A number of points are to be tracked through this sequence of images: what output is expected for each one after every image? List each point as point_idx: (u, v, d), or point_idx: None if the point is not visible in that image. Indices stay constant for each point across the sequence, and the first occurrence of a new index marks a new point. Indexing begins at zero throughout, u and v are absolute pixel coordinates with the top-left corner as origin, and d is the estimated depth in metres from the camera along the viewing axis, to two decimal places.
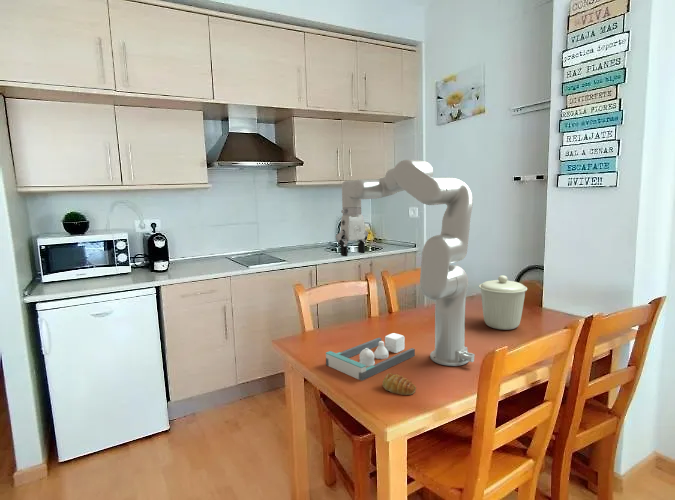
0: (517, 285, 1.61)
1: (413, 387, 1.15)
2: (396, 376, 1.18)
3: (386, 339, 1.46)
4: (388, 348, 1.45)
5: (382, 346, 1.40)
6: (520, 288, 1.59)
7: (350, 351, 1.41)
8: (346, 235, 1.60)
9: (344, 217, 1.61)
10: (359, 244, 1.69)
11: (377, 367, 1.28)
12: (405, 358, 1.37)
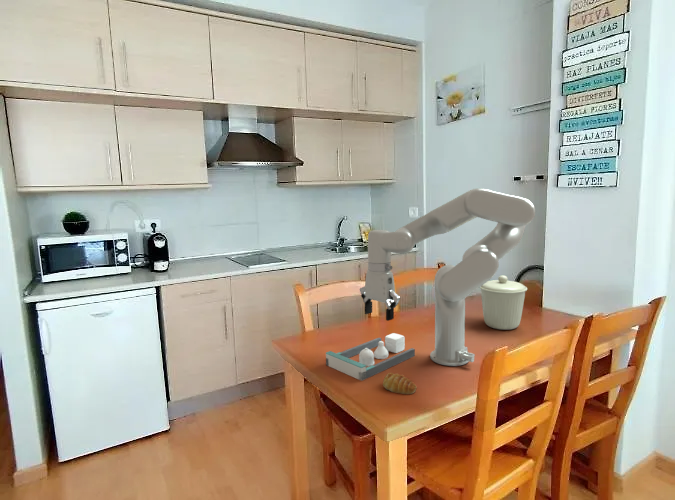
0: (517, 285, 1.61)
1: (413, 386, 1.16)
2: (396, 375, 1.19)
3: (386, 339, 1.45)
4: (388, 348, 1.45)
5: (382, 346, 1.40)
6: (520, 288, 1.59)
7: (350, 351, 1.41)
8: None
9: (390, 274, 1.34)
10: (367, 304, 1.42)
11: (377, 367, 1.28)
12: (405, 358, 1.37)
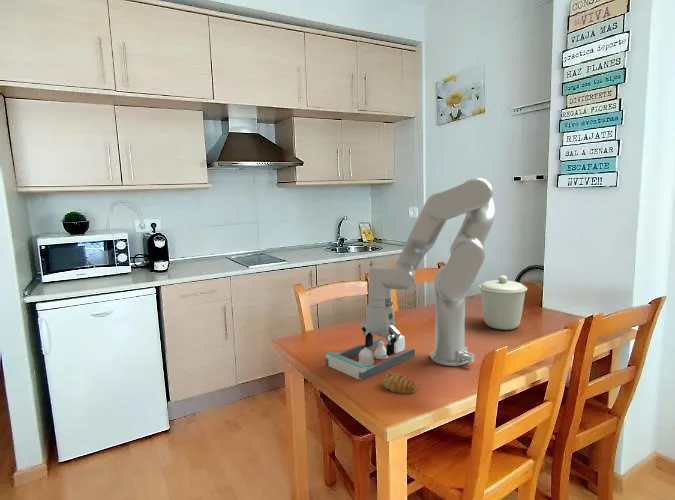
0: (517, 285, 1.61)
1: (414, 385, 1.16)
2: (396, 375, 1.19)
3: None
4: None
5: (382, 346, 1.40)
6: (520, 288, 1.59)
7: (350, 351, 1.41)
8: None
9: (390, 310, 1.36)
10: (368, 337, 1.44)
11: (377, 367, 1.28)
12: (405, 358, 1.37)
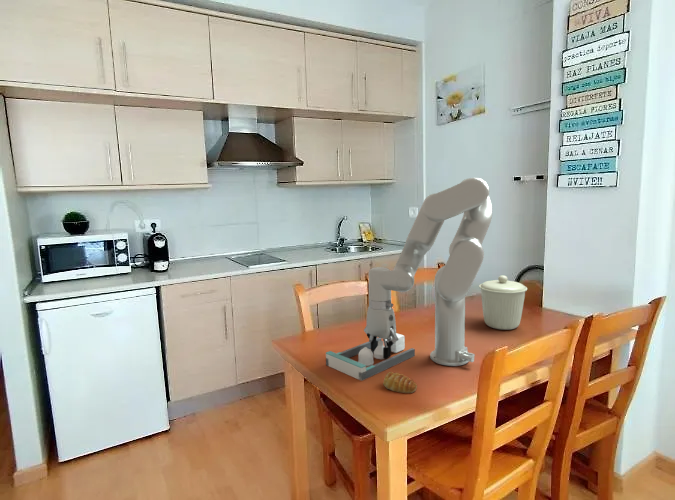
0: (517, 285, 1.61)
1: (414, 385, 1.16)
2: (397, 375, 1.19)
3: None
4: None
5: (381, 345, 1.40)
6: (520, 288, 1.59)
7: (350, 351, 1.41)
8: (395, 331, 1.38)
9: (391, 311, 1.36)
10: (373, 344, 1.42)
11: (377, 367, 1.28)
12: (405, 358, 1.37)
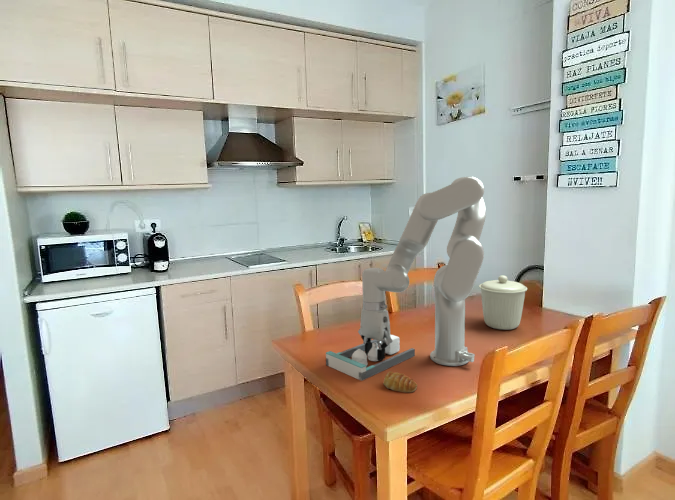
0: (517, 285, 1.61)
1: (414, 384, 1.17)
2: (397, 374, 1.20)
3: None
4: None
5: (376, 347, 1.38)
6: (520, 288, 1.59)
7: (350, 351, 1.41)
8: (389, 332, 1.35)
9: (385, 313, 1.34)
10: (368, 345, 1.40)
11: (377, 367, 1.28)
12: (405, 358, 1.37)
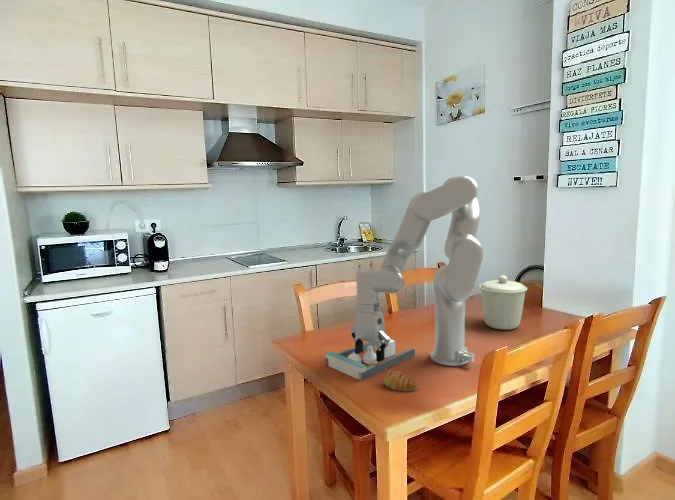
0: (517, 285, 1.61)
1: (414, 383, 1.17)
2: (397, 373, 1.20)
3: None
4: None
5: (371, 351, 1.36)
6: (520, 288, 1.59)
7: (350, 351, 1.41)
8: None
9: (379, 315, 1.32)
10: (358, 343, 1.40)
11: (377, 367, 1.28)
12: (405, 358, 1.37)
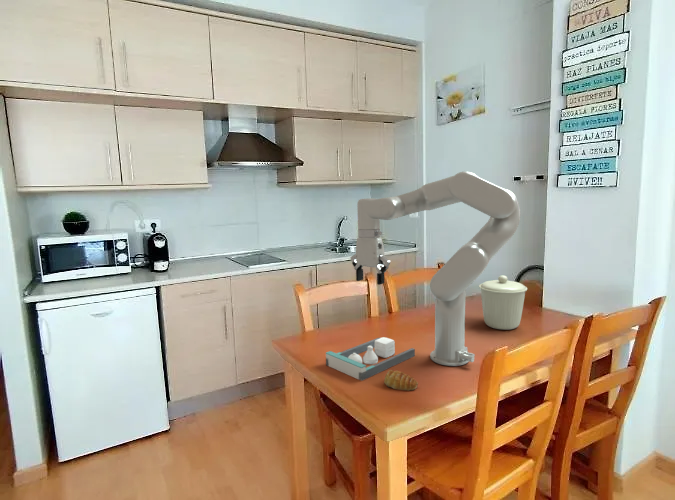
0: (517, 285, 1.61)
1: (415, 382, 1.18)
2: (397, 372, 1.21)
3: (376, 343, 1.42)
4: (378, 352, 1.41)
5: (371, 351, 1.36)
6: (520, 288, 1.59)
7: (350, 351, 1.41)
8: None
9: (379, 240, 1.40)
10: (359, 271, 1.48)
11: (377, 367, 1.28)
12: (405, 358, 1.37)
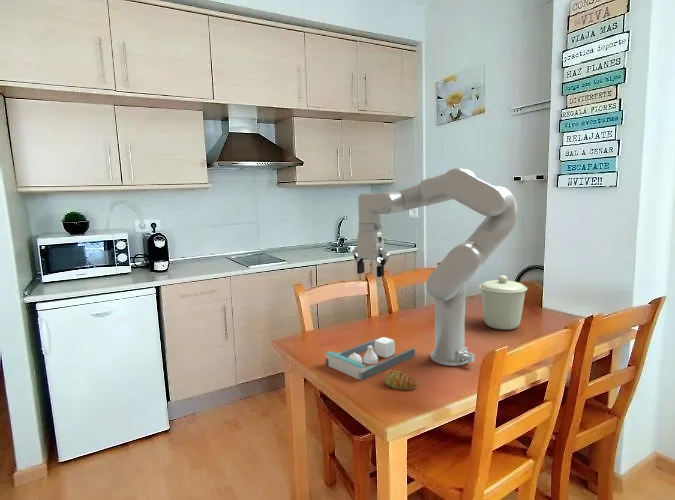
0: (517, 285, 1.61)
1: (415, 381, 1.18)
2: (397, 372, 1.21)
3: (376, 343, 1.42)
4: (378, 352, 1.41)
5: (371, 351, 1.36)
6: (520, 288, 1.59)
7: (350, 351, 1.41)
8: None
9: (379, 233, 1.44)
10: (360, 264, 1.51)
11: (377, 367, 1.28)
12: (405, 358, 1.37)
